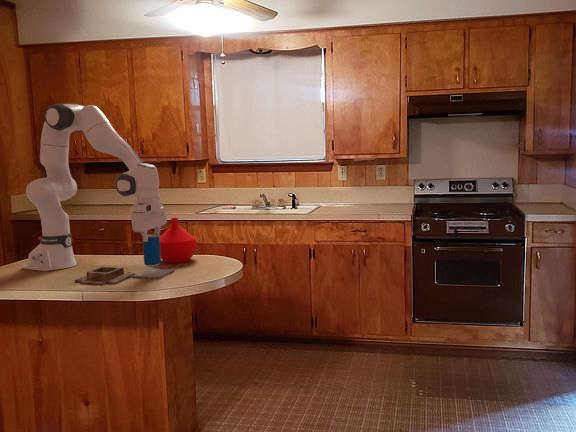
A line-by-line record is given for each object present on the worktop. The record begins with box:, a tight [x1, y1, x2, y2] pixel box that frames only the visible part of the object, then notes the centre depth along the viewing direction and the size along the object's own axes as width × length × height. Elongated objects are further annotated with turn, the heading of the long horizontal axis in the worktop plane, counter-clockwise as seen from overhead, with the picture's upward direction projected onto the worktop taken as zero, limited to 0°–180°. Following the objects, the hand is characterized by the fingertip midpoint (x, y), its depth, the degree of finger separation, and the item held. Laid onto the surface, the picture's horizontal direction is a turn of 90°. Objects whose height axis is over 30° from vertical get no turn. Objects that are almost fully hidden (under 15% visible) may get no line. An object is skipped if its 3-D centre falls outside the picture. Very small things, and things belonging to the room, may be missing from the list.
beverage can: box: [142, 233, 162, 268], centre depth 224 cm, size 6×6×12 cm
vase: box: [159, 217, 198, 264], centre depth 249 cm, size 18×18×19 cm
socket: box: [74, 265, 137, 286], centre depth 222 cm, size 18×18×4 cm
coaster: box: [131, 268, 175, 280], centre depth 226 cm, size 12×12×1 cm
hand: (151, 239), depth 224 cm, fingers closed on beverage can, 6 cm apart
